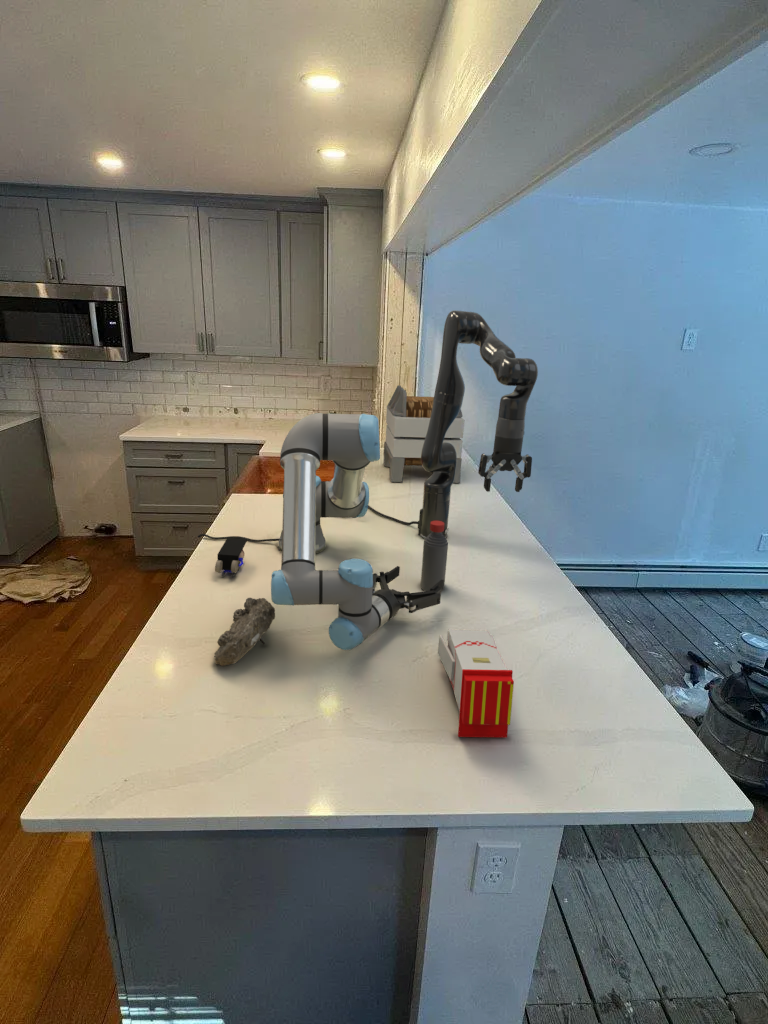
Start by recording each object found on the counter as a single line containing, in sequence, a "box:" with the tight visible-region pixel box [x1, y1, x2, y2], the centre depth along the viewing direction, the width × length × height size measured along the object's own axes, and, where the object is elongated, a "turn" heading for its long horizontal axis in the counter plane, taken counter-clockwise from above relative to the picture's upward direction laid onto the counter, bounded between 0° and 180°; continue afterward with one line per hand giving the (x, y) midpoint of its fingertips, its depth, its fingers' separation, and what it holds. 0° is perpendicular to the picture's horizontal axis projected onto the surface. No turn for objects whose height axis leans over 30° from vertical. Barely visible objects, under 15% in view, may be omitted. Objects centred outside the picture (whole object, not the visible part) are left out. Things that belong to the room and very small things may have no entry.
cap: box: [430, 521, 444, 532], centre depth 156 cm, size 4×4×2 cm
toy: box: [437, 628, 515, 738], centre depth 117 cm, size 12×13×30 cm
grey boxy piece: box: [383, 384, 465, 484], centre depth 268 cm, size 34×33×41 cm
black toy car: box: [214, 538, 248, 578], centre depth 166 cm, size 7×8×15 cm
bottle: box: [420, 531, 449, 592], centre depth 159 cm, size 7×7×19 cm
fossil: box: [214, 597, 276, 667], centre depth 130 cm, size 22×10×15 cm
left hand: (420, 577), depth 154 cm, fingers open, 13 cm apart
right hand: (502, 491), depth 159 cm, fingers open, 8 cm apart
